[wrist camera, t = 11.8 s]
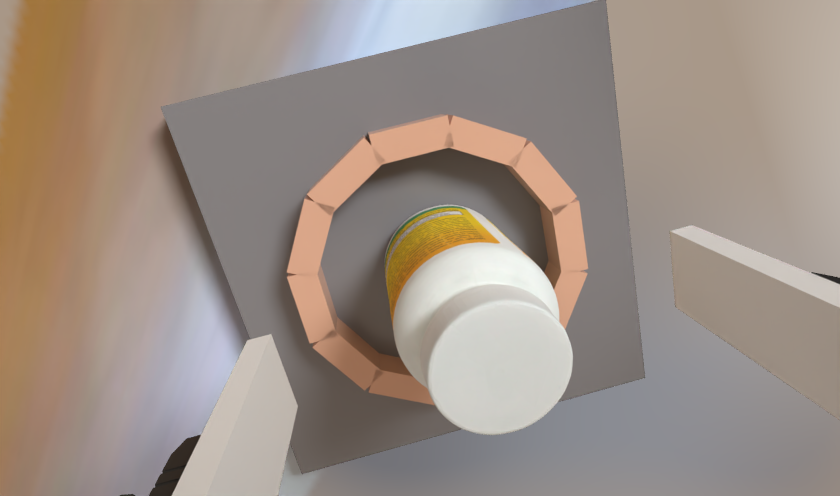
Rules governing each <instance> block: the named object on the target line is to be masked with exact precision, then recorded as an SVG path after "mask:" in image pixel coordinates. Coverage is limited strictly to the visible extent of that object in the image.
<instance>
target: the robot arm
mask: <svg viewBox="0 0 840 496" xmlns="http://www.w3.org/2000/svg"><path fill="white" fill-rule="evenodd" d="M670 245H671V258H672V271H673V285H674V298H675V307H676V308H678V309H679V310H681V311H682V312H683V313H685V314H686V315H688V316H689V317H691V318H692V319H694V320H695V321H696V322H698V323H699V324H701V325H702V326H704V327H705V328H707V329H708V330H710V331H711V332H712V333H714V334H715V335H717V336H718V337H720V338H721V339H723V340H724V341H726V342H727V343H728V344H730V345H731V346H733V347H734V348H736V349H737V350H739V351H740V352H741V353H743V354H744V355H746V356H747V357H749V358H750V359H752V360H753V361H754V362H756V363H758V364H759V365H760V366H762V367H763V368H765V369H766V370H768V371H769V372H770V373H772V374H774V375H775V376H776V377H778V378H779V379H781V380H782V381H784V382H785V383H787V384H788V385H789V386H791V387H792V388H794V389H795V390H797V391H798V392H800V393H801V394H802V395H804V396H805V397H807V398H808V399H810V400H811V401H812V402H814V403H815V404H817V405H818V406H820V407H821V408H823V409H824V410H826V411H827V412H828V413H830V414H831V415H833V416H834V417H836V418H837V419H839V420H840V278H838V277H833V276H828V275H823V274H818V273H813V272H812V273H810V272H807V271H805V270H803V269H800V268H798V267H795V266H793V265H790V264H788V263H785V262H783V261H780V260H778V259H775V258H772V257H770V256H768V255H765V254H763V253H760V252H758V251H755V250H753V249H750V248H748V247H745V246H743V245H740V244H738V243H735V242H733V241H730V240H728V239H726V238H723V237H720V236H718V235H716V234H713V233H711V232H708V231H706V230H703V229H701V228H698V227H696V226H693V225H690V226H687V227H683V228H679V229H676V230H671V231H670ZM297 408H298V405H297V402H296V400H295V397H294V394H293V392H292V389H291V386H290V384H289V381H288V378H287V375H286V373H285V370H284V367H283V365H282V362H281V359H280V357H279V354H278V351H277V349H276V346H275V343H274V340H273V338H272V335H271V334H269V335H265V336H261V337H258V338H254V339H250V340H247V342H246V344H245V346H244V348H243V350H242V352H241V354H240V356H239V358H238V360H237V362H236V364H235V367H234V369H233V371H232V373H231V375H230V377H229V379H228V381H227V383H226V385H225V387H224V389H223V391H222V393H221V395H220V397H219V399H218V401H217V404H216V406H215V408H214V410H213V412H212V414H211V416H210V418H209V420H208V422H207V424H206V426H205V428H204V430H203V432H202V434H201V435H198V436H194V437H191V438H187V439H186V440H185V441H184V442H183V443H182V444H181V445H180V446H179V447H178V448H177V449H176V450H175V451H174V452H173V453H172V454H171V456H170V458H169V460H168V462H167V463H166V465H165V467H164V469H163V474H161V475H160V476H159V478H158V480H157V482H156V484H155V488H153V489H152V491H151V493H150V495H149V496H278V493H279V489H280V484H281V480H282V475H283V471H284V466H285V462H286V457H287V453H288V448H289V444H290V439H291V435H292V430H293V426H294V421H295V417H296V412H297ZM120 496H135V495H133V494H128V495H120Z"/></svg>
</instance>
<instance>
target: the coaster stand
mask: <svg viewBox="0 0 840 496" xmlns="http://www.w3.org/2000/svg"><path fill="white" fill-rule="evenodd" d="M161 109H162V112H163V114H164V117H165V120H166V122H167V125H168V127H169V130H170V133H171V135H172V138H173V140H174V143H175V146H176V148H177V151H178V153H179V156H180V159H181V161H182V164H183V166H184V169H185V172H186V174H187V177H188V179H189V182H190V184H191V187H192V190H193V192H194V195H195V197H196V200H197V203H198V205H199V208H200V210H201V213H202V216H203V218H204V221H205V223H206V226H207V229H208V231H209V234H210V236H211V239H212V242H213V244H214V247H215V249H216V252H217V255H218V257H219V260H220V262H221V265H222V268H223V270H224V273H225V275H226V278H227V281H228V283H229V286H230V288H231V291H232V294H233V296H234V299H235V301H236V304H237V306H238V309H239V312H240V314H241V317H242V319H243V322H244V325H245V327H246V330H247V332H248V335H249V338H250V339H254V338H258V337H261V336H265V335H269V334H271V335H272V338H273V340H274V343H275V346H276V349H277V351H278V354H279V357H280V359H281V362H282V365H283V367H284V370H285V373H286V375H287V378H288V381H289V384H290V386H291V389H292V392H293V394H294V397H295V400H296V402H297V405H298V408H297V412H296V417H295V421H294V426H293V430H292V435H291V439H290V444H291V447H292V449H293V452H294V454H295V457H296V460H297V462H298V465H299V467H300V470H301V473H302V474H304V473H307V472H311V471H314V470H318V469H321V468H325V467H329V466H332V465H336V464H339V463H343V462H346V461H350V460H354V459H357V458H361V457H364V456H368V455H371V454H375V453H378V452H382V451H386V450H389V449H393V448H396V447H400V446H403V445H407V444H411V443H414V442H418V441H421V440H425V439H428V438H432V437H436V436H439V435H442V434H446V433H449V432H453V431H457V430H460V429H462V428H460V427H458V426H456V425H454V424H453V423H451V422H450V421H449V420H448V419H446V418H445V417H444V416H443V415H442V414H441V413H440V412H439V410H438V409H437V407H436V406H435V404H434V402H433V400H432V398H431V396H430V394H429V391H428V388H426V387H425V386H423V385H422V384H421V383H419V382H418V381H417V380H416V379H415V378H414V377H413V376H412V374H411V373H410V372H409V371H408V369H407V368H406V366H405V365H404V363H403V361H402V359H401V357H400V355H399V353H398V350H397V347H396V343H395V338H394V331H393V325H392V319H391V313H390V304H389V298H388V291H387V284H386V278H385V254H386V250H387V247H388V244H389V242H390V240H391V238H392V236H393V234H394V233H395V231H396V230H397V229H398V228H399V226H400V225H401V224H402V223H403V222H404V221H405V220H407V219H408V218H409V217H411V216H412V215H414V214H415V213H417V212H419V211H422V210H424V209H427V208H431V207H434V206H439V205H458V206H462V207H466V208H469V209H472V210H474V211H476V212H478V213H479V214H481V215H483V216H484V217H485V218H486V219H488V220H489V221H490V222H491V223H492V224H494V225H495V226H496V227H497V228H498V229H499V230H500V231H501V232H502V233H503V234H504V235H505V236H506V237H507V238H508V239H509V240H510V241H512V242H513V243H514V244H515V245H516V246H517V247H518V248H520V249H521V250H522V251H523V252H524V253H525V254H526V255H527V256H528V257H530V258H531V259H532V260H533V261H534V262H535V263H536V264H537V265H538V266H539V267H540V269H541V270H542V271H543V272H544V274H545V275H546V276H547V278H548V279H549V281H550V283H551V285H552V287H553V289H554V292H555V294H556V297H557V302H558V307H559V322H560V323H561V325H562V326H563V327H564V329H565V331H566V333H567V335H568V338H569V341H570V343H571V347H572V353H573V365H572V373H571V377H570V380H569V383H568V385H567V388H566V390H565V392H564V393H563V395H562V397H561V398H560V399H559V401H558V402H560V401H564V400H567V399H571V398H574V397H578V396H582V395H585V394H589V393H592V392H596V391H599V390H603V389H607V388H610V387H614V386H617V385H620V384H625V383H628V382H632V381H635V380H639V379H642V378H645V372H644V362H643V353H642V343H641V333H640V324H639V314H638V305H637V295H636V285H635V276H634V266H633V256H632V247H631V237H630V228H629V218H628V209H627V199H626V190H625V180H624V171H623V161H622V151H621V141H620V131H619V122H618V113H617V102H616V94H615V83H614V74H613V64H612V54H611V45H610V35H609V26H608V16H607V6H606V0H598V1H594V2H590V3H586V4H582V5H578V6H574V7H570V8H565V9H561V10H557V11H553V12H549V13H545V14H541V15H537V16H533V17H528V18H524V19H520V20H516V21H512V22H508V23H504V24H500V25H496V26H491V27H487V28H483V29H479V30H475V31H471V32H467V33H463V34H458V35H454V36H450V37H446V38H442V39H438V40H434V41H430V42H426V43H421V44H417V45H413V46H409V47H405V48H401V49H397V50H393V51H389V52H384V53H380V54H376V55H372V56H368V57H364V58H360V59H356V60H351V61H347V62H343V63H339V64H335V65H331V66H327V67H323V68H319V69H314V70H310V71H306V72H302V73H298V74H294V75H290V76H286V77H282V78H277V79H273V80H269V81H265V82H261V83H257V84H253V85H249V86H245V87H240V88H236V89H232V90H228V91H224V92H220V93H216V94H212V95H207V96H203V97H199V98H195V99H191V100H187V101H183V102H179V103H175V104H170V105H166V106H162V107H161Z"/></svg>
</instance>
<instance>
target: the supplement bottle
mask: <svg viewBox="0 0 840 496" xmlns="http://www.w3.org/2000/svg"><path fill="white" fill-rule="evenodd" d="M385 278H386V284H387V291H388V298H389V304H390V313H391V319H392V325H393V331H394V338H395V343H396V347H397V350H398V353H399V355H400V357H401V359H402V361H403V363H404V365H405V366H406V368H407V369H408V371H409V372H410V373H411V374H412V376H413V377H414V378H415V379H416V380H417V381H418V382H419V383H421V384H422V385H423V386H425V387H426V388H428V391H429V394H430V396H431V398H432V400H433V402H434V404H435V406H436V407H437V409H438V410H439V412H440V413H441V414H442V415H443V416H444V417H445V418H446V419H448V420H449V421H450V422H451V423H453V424H454V425H456V426H458V427H460V428H462V429H464V430H467V431H470V432H473V433H478V434H485V435H498V434H505V433H509V432H514V431H518V430H521V429H522V428H525V427H528V426H530V425H531V424H533V423H535V422H536V421H538V420H539V419H541V418H542V417H543V416H544V415H545V414H547V413H548V412H549V411H550V410H551V409H552V408H553V407H554V406H555V404H556V403H557V402H558V401H559V399H560V398H561V397H562V395H563V393H564V392H565V390H566V388H567V385H568V383H569V380H570V377H571V373H572V365H573V353H572V347H571V343H570V341H569V338H568V335H567V333H566V331H565V329H564V327H563V326H562V325H561V323H560V322H559V307H558V302H557V297H556V294H555V292H554V289H553V287H552V285H551V283H550V281H549V279H548V278H547V276H546V275H545V274H544V272H543V271H542V270H541V269H540V267H539V266H538V265H537V264H536V263H535V262H534V261H533V260H532V259H531V258H530V257H528V256H527V255H526V254H525V253H524V252H523V251H522V250H521V249H520V248H518V247H517V246H516V245H515V244H514V243H513V242H512V241H510V240H509V239H508V238H507V237H506V236H505V235H504V234H503V233H502V232H501V231H500V230H499V229H498V228H497V227H496V226H495V225H494V224H492V223H491V222H490V221H489V220H488V219H486V218H485V217H484V216H483V215H481V214H479V213H478V212H476V211H474V210H472V209H469V208H466V207H462V206H458V205H439V206H434V207H431V208H427V209H424V210H422V211H419V212H417V213H415V214H414V215H412V216H411V217H409V218H408V219H407V220H405V221H404V222H403V223H402V224H401V225H400V226H399V228H398V229H397V230H396V231H395V233H394V234H393V236H392V238H391V240H390V242H389V244H388V247H387V250H386V254H385Z"/></svg>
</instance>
